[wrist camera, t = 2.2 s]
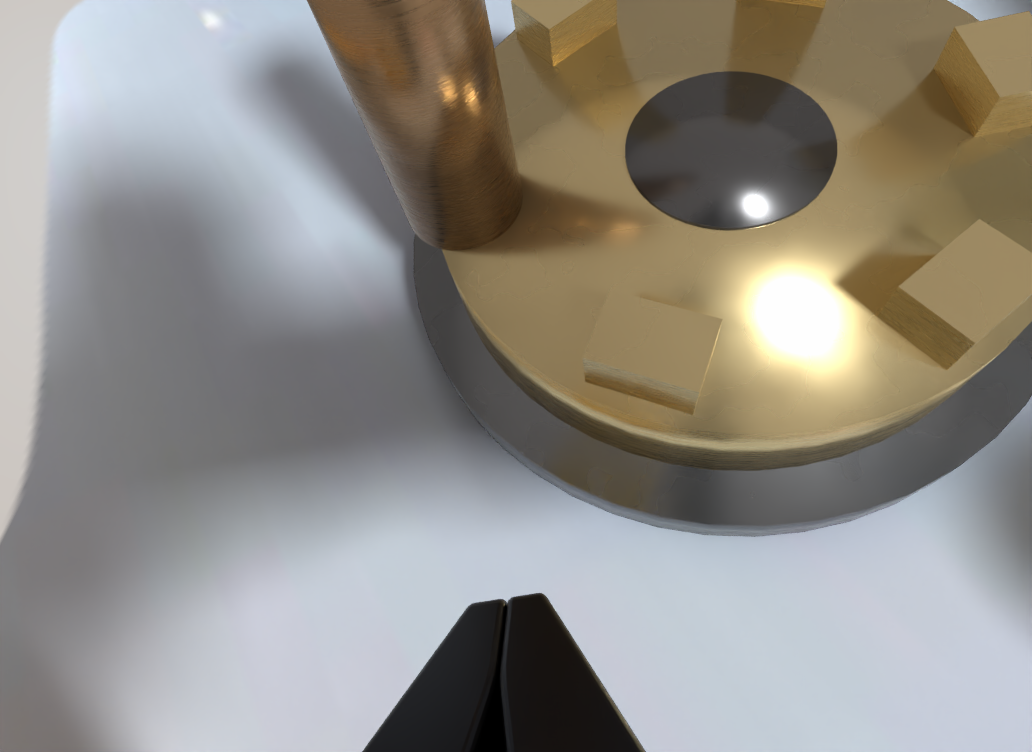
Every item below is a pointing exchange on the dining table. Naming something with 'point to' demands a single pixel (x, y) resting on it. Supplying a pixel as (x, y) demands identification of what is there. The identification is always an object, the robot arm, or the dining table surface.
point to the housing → (702, 492)
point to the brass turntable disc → (714, 205)
